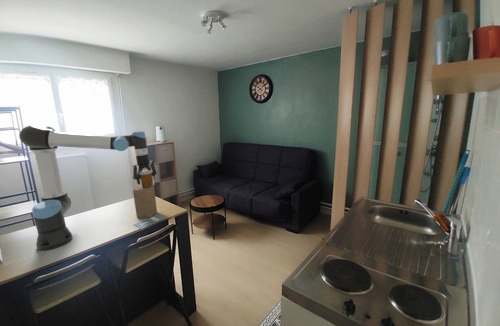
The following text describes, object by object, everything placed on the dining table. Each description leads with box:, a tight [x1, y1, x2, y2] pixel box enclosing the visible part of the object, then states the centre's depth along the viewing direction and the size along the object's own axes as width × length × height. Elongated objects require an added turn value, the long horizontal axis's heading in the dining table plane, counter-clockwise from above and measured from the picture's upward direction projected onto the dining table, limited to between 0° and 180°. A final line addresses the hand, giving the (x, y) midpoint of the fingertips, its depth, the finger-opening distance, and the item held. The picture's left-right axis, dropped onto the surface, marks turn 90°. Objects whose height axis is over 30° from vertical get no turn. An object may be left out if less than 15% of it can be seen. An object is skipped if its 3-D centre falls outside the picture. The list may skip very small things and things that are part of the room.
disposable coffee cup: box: [140, 168, 153, 188], centre depth 151 cm, size 10×10×12 cm
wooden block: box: [132, 185, 158, 219], centre depth 153 cm, size 10×10×20 cm
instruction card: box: [133, 213, 168, 230], centre depth 146 cm, size 18×10×1 cm, turn 145°
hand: (147, 186), depth 152 cm, fingers open, 8 cm apart
